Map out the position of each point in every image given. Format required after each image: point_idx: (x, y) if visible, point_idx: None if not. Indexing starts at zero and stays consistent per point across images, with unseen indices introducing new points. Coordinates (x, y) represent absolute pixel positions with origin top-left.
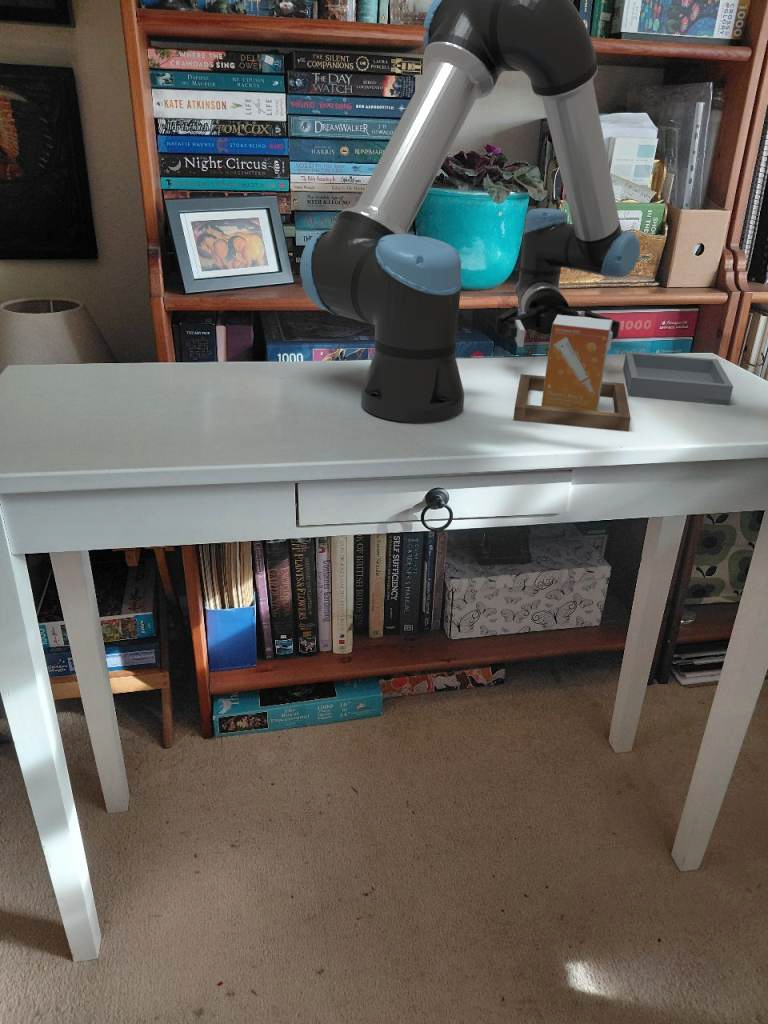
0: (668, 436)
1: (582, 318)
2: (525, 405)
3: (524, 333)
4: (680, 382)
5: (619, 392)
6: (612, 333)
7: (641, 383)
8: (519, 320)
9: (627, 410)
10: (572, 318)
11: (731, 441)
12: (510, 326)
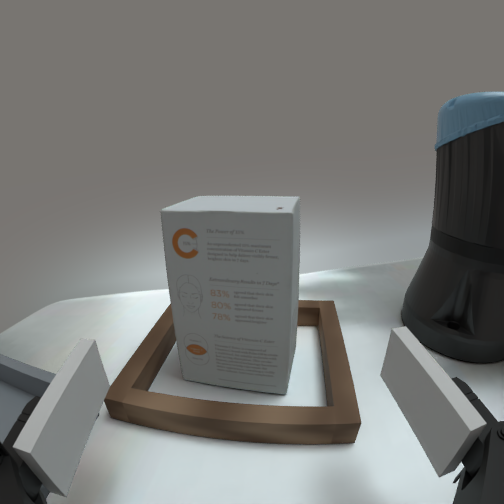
0: (136, 306)
1: (231, 205)
2: (319, 305)
3: (390, 338)
4: (17, 361)
5: (142, 357)
6: (81, 339)
7: None
8: (467, 421)
9: (169, 308)
10: (256, 203)
11: (78, 301)
12: (470, 394)
